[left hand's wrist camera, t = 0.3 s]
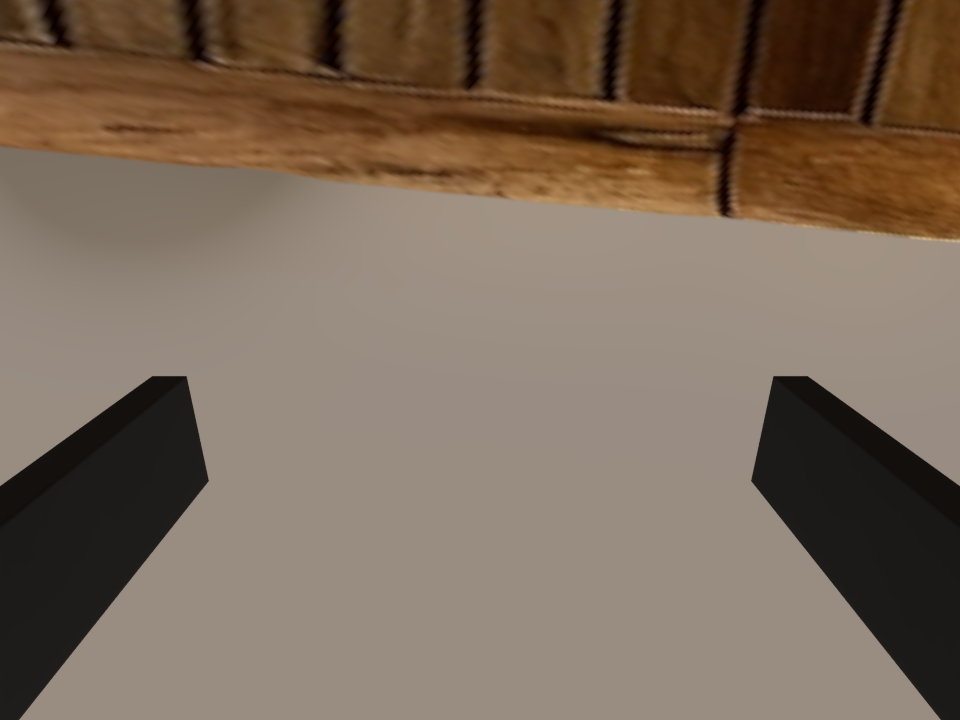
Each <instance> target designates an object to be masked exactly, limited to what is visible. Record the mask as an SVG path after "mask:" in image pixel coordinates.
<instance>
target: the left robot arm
mask: <svg viewBox="0 0 960 720" xmlns="http://www.w3.org/2000/svg"><path fill="white" fill-rule="evenodd" d="M208 481H209V480H208V475H207V470H206V466H205V461H204V456H203V452H202V447H201V442H200V438H199V433H198V428H197V424H196V419H195V414H194V409H193V405H192V400H191V395H190V391H189V386H188V381H187V377H186V376H152V377H151V378H149V379H148V380H146V381H145V382H144V383H142V384H141V385H140V386H138V387H137V388H135V389H134V390H133V391H131V392H130V393H128V394H127V395H126V396H124V397H123V398H122V399H120V400H119V401H117V402H116V403H115V404H113V405H112V406H110V407H109V408H108V409H106V410H105V411H104V412H102V413H101V414H99V415H98V416H97V417H95V418H94V419H92V420H91V421H90V422H88V423H87V424H86V425H84V426H83V427H81V428H80V429H79V430H77V431H76V432H74V433H73V434H72V435H70V436H69V437H68V438H66V439H65V440H63V441H62V442H61V443H59V444H58V445H56V446H55V447H54V448H52V449H51V450H50V451H48V452H47V453H45V454H44V455H43V456H41V457H40V458H38V459H37V460H36V461H34V462H33V463H32V464H30V465H29V466H27V467H26V468H25V469H23V470H22V471H20V472H19V473H18V474H16V475H15V476H14V477H12V478H11V479H9V480H8V481H7V482H5V483H4V484H3V485H1V486H0V720H19V719H20V718H21V717H22V715H23V714H24V713H25V712H26V710H27V709H28V708H29V707H30V705H31V704H32V703H33V702H34V700H35V699H36V698H37V697H38V695H39V694H40V693H41V692H42V690H43V689H44V688H45V686H46V685H47V684H48V683H49V681H50V680H51V679H52V678H53V676H54V675H55V674H56V673H57V671H58V670H59V669H60V668H61V666H62V665H63V664H64V663H65V661H66V660H67V659H68V658H69V656H70V655H71V654H72V652H73V651H74V650H75V649H76V647H77V646H78V645H79V644H80V642H81V641H82V640H83V639H84V637H85V636H86V635H87V634H88V632H89V631H90V630H91V628H92V627H93V626H94V625H95V624H96V622H97V621H98V620H99V618H100V617H101V616H102V615H103V613H104V612H105V611H106V610H107V608H108V607H109V606H110V605H111V603H112V602H113V601H114V600H115V598H116V597H117V596H118V595H119V593H120V592H121V591H122V590H123V588H124V587H125V586H126V585H127V583H128V582H129V581H130V579H131V578H132V577H133V576H134V574H135V573H136V572H137V571H138V569H139V568H140V567H141V566H142V564H143V563H144V562H145V561H146V559H147V558H148V557H149V555H150V554H151V553H152V552H153V551H154V549H155V548H156V547H157V545H158V544H159V543H160V542H161V540H162V539H163V538H164V537H165V535H166V534H167V533H168V532H169V530H170V529H171V528H172V527H173V525H174V524H175V523H176V522H177V520H178V519H179V518H180V516H181V515H182V514H183V513H184V511H185V510H186V509H187V508H188V506H189V505H190V504H191V503H192V501H193V500H194V499H195V497H196V496H197V495H198V494H199V493H200V491H201V490H202V489H203V488H204V486H205V485H206V484H207V482H208ZM751 481H752V483H753V484H754V485H755V486H756V488H757V489H758V490H759V491H760V493H761V494H762V495H763V496H764V498H765V499H766V500H767V501H768V503H769V504H770V505H771V506H772V508H773V509H774V510H775V511H776V513H777V514H778V515H779V517H780V518H781V519H782V520H783V521H784V523H785V524H786V525H787V527H788V528H789V529H790V530H791V532H792V533H793V534H794V535H795V537H796V538H797V539H798V540H799V542H800V543H801V544H802V545H803V547H804V548H805V549H806V550H807V552H808V553H809V554H810V555H811V557H812V558H813V559H814V561H815V562H816V563H817V564H818V566H819V567H820V568H821V569H822V571H823V572H824V573H825V574H826V576H827V577H828V578H829V579H830V581H831V582H832V583H833V585H834V586H835V587H836V588H837V589H838V591H839V592H840V593H841V595H842V596H843V597H844V598H845V600H846V601H847V602H848V603H849V605H850V606H851V607H852V608H853V610H854V611H855V612H856V613H857V615H858V616H859V617H860V619H861V620H862V621H863V622H864V624H865V625H866V626H867V627H868V629H869V630H870V631H871V632H872V634H873V635H874V636H875V637H876V639H877V640H878V641H879V642H880V644H881V645H882V646H883V647H884V649H885V650H886V651H887V652H888V654H889V655H890V656H891V658H892V659H893V660H894V661H895V663H896V664H897V665H898V666H899V668H900V669H901V670H902V671H903V673H904V674H905V675H906V676H907V678H908V679H909V680H910V681H911V683H912V684H913V685H914V686H915V688H916V689H917V690H918V692H919V693H920V694H921V695H922V697H923V698H924V699H925V700H926V702H927V703H928V704H929V705H930V707H931V708H932V709H933V710H934V712H935V713H936V714H937V715H938V717H939V718H940V719H941V720H960V486H959V485H957V484H956V483H955V482H953V481H952V480H951V479H949V478H948V477H946V476H945V475H944V474H942V473H941V472H940V471H938V470H937V469H935V468H934V467H933V466H931V465H930V464H928V463H927V462H926V461H924V460H923V459H922V458H920V457H919V456H917V455H916V454H915V453H913V452H912V451H910V450H909V449H908V448H906V447H905V446H904V445H902V444H901V443H899V442H898V441H897V440H895V439H894V438H892V437H891V436H890V435H888V434H887V433H886V432H884V431H883V430H881V429H880V428H879V427H877V426H876V425H874V424H873V423H872V422H870V421H869V420H868V419H866V418H865V417H863V416H862V415H861V414H859V413H858V412H856V411H855V410H854V409H852V408H851V407H850V406H848V405H847V404H845V403H844V402H843V401H841V400H840V399H838V398H837V397H836V396H834V395H833V394H832V393H830V392H829V391H827V390H826V389H825V388H823V387H822V386H821V385H819V384H818V383H816V382H815V381H814V380H812V379H811V378H809V377H808V376H774V377H773V381H772V386H771V390H770V395H769V400H768V405H767V409H766V414H765V419H764V423H763V428H762V433H761V438H760V442H759V447H758V452H757V456H756V461H755V466H754V470H753V475H752V480H751Z"/></svg>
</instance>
